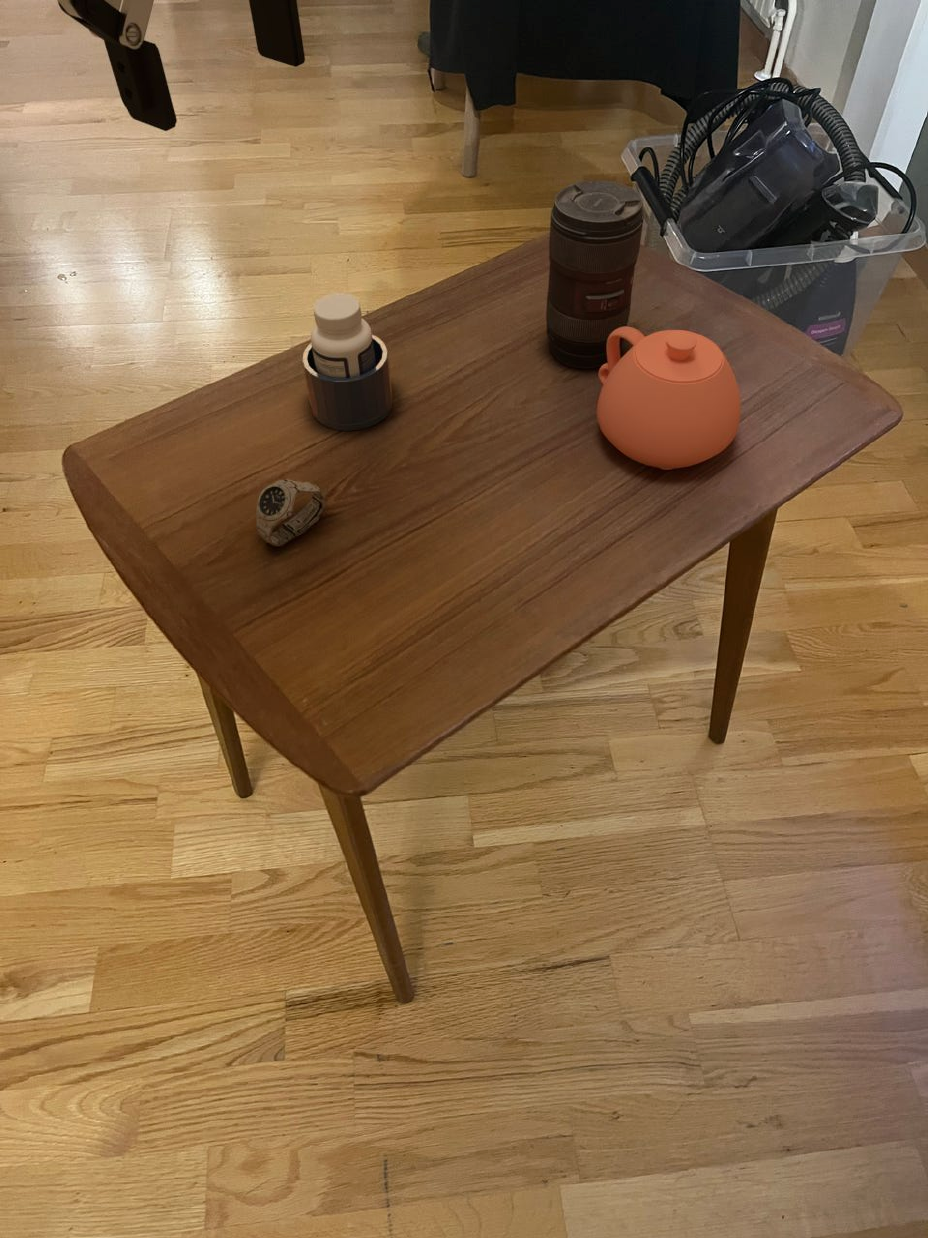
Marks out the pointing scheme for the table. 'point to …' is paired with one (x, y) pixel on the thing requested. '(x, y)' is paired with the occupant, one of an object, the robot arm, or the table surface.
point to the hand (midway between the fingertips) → (221, 89)
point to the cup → (350, 393)
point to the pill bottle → (341, 337)
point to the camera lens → (591, 268)
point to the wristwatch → (286, 510)
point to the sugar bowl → (667, 398)
